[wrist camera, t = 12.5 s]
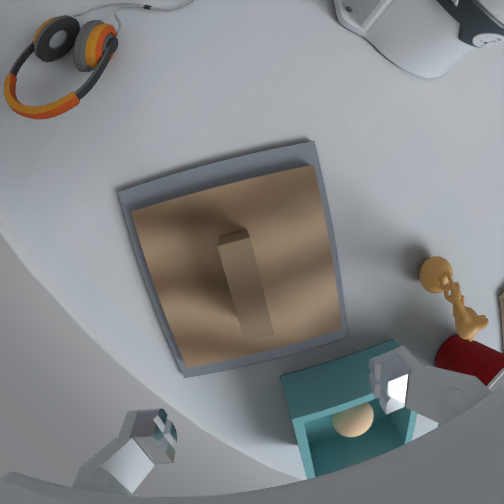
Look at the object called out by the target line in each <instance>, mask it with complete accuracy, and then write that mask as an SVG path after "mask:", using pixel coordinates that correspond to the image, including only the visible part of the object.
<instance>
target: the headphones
mask: <svg viewBox="0 0 504 504" xmlns="http://www.w3.org/2000/svg"><path fill="white" fill-rule="evenodd" d="M194 1H195V0H192V2H191V3H189V4H188V5H186V6H184V7H181V8H177V9H158V8H153V7H151V6H148V5H140V4H134V3H114V4H108V5H103V6H99V7H96V8H93V9H91V10H89V11H86V12H84V13H81V14H77V15H73V16H66V15H64V16H59V17H54V18H51V19H49V20H48V21H46V22H45V23H43V24H42V26H41V27H40V28H39V29H38V30H37V32H36V34H35V36H34V41H33V42H32V43H31V44H30V45H29V46H28V47H27V48H26V49H25V50H24V52H23V53H22V54H21V55H20V56H19V58H18V59H17V60H16V62H15V63H14V65H13V67H12V69H11V71H10V73H9V75H7V76H6V79H5V84H4V95H5V99H6V101H7V103H8V104H9V106H10V107H11V108H12V110H13V111H15V112H16V113H17V114H20V115H22V116H25V117H28V118H32V119H48V118H52V117H55V116H58V115H60V114H63V113H65V112H67V111H68V110H70V109H72V108H73V107H75V106H77V105H78V104H79V102H80V99H82V98H83V97H84V96H85V95H86V94H87V93H88V92H89V91H90V90H91V89H92V88H93V86H94V85H95V84H96V82H97V81H98V79H99V78H100V76H101V74H102V73H103V71H104V69H105V67H106V66H107V64H108V62H109V61H110V60H111V58H112V56H113V54H114V52H115V51H116V49H117V47H118V39H117V38H118V36H119V34H120V31H121V22H120V20H119V18H118V16H117V15H116V13H117V12H118V11H120V10H121V9H124V8H129V7H141V8H144V9H148V10H150V9H152V10H158V11H177V10H181V9H184V8H186V7H188V6H190V5H191V4H193V2H194ZM113 5H130V6H125V7H122V8H120V9H118V10H117V11H116V12H115V13H114V16H115V18H116V19H117V21H118V23H119V30H118V33H116V30H115V28H114V27H113V26H112V25H109V24H104V22H102V21H100V20H94V21H89V22H87V23H86V24H85V25H84V26H83V27H82V29H81V30H80V26H79V22H78V21H77V20H76V19H74V18H73V17H76V16H80V15H84V14H86V13H88V12H90V11H93V10H95V9H98V8H102V7H106V6H113ZM73 45H74V49H73V58H74V63H75V65H76V67H77V69H78V70H79V71H82V72H89V71H93V70H94V69H95V70H94V71H93V73H92V74H91V76H90V77H89V78H88V80H87V81H86V82H85V83H84V84H83V85H82V86H81V87H80V88H79V89H78V90H77V91H76V92H71V93H69V94H68V95H66V96H65V97H63V98H61V99H59V100H58V101H55V102H53V103H51V104H48V105H44V106H38V107H31V106H26V105H23V104H21V103H20V102H19V101H18V100H17V98H16V93H15V87H16V81H17V78H16V76H17V73H18V71H19V69H20V68H21V66H22V65H23V63H24V62H25V61H26V59H27V58H28V57H29V56H30V55H31V54H32V53H33V51H34V52H35V54H36V56H37V57H38V58H39V59H41V60H42V61H45V62H52V61H54V60H57V59H59V58H61V57H62V56H63V55H65V54H66V53H67V52H68V51H69V50H70V49H71V48H72V46H73Z"/></svg>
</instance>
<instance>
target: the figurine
mask: <svg viewBox="0 0 504 504" xmlns="http://www.w3.org/2000/svg"><path fill="white" fill-rule="evenodd" d="M452 277H453V272H452V267H451V265H450V264H449V262H448V261H447V260H446V259H444V258H442V257H439V256H434V257H431V258H429V259H427V260H426V261H425V262H424V263H423V264H422V266H421V268H420V273H419V278H420V282H421V284H422V286H423V287H424V288H425V289H426V290H427V291H429V292H431V293H440V292H443V291H444V295H445V298H446V299H448V301H449V302H451V303H452V304H453V316H454V317H455V325H456V330H457V333H458V334H459V336H460V337H461V338H463V339H468V340H469V341H470V342H471V341H472V340H473V338H474V335H475V333H477V332H478V331H479V330H481V329H483V328H485V327H486V326H487V325H488V319H487V318H486V316H485V315H479V316H477V314H476V312H475V311H474V310H473V309H472V308H469V307H465V306H464V296H463V295H461V292H460V285H459V283H457V282H455V283H454V282H453V280H452ZM450 289H451V295H450V296H449V295H448V291H449V290H450Z"/></svg>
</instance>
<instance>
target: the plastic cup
mask: <svg viewBox="0 0 504 504" xmlns="http://www.w3.org/2000/svg"><path fill="white" fill-rule="evenodd" d="M435 365H436V367H437V368H441V369H445V370H449V371H453V372H458V373H462V374H467V375H471V376H476V377H477V378H478V379H479V380H480V381H481V382H482V383H483V384H484V385H485V386H486V387H487V388H488V389H489V390H490V391H491V392H493V391H495V390H496V389H497V388H499V387H500V386H501V385H503V384H504V353H500V352H498V351H496V350H494V349H492V348H489V347H487V346H485V345H483V344H481V343H479V342H477V341H473V340H472V341H471V342H470V341H469V340H468V339H463V338H461V337H460V336H459V335H453V336H452V337H450V338H448V339H447V340H446V341H445V342H444V343H443V344H442V346H441V347H440V349H439V350H438V352H437V355H436V357H435Z"/></svg>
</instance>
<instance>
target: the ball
mask: <svg viewBox="0 0 504 504" xmlns="http://www.w3.org/2000/svg"><path fill="white" fill-rule="evenodd" d="M373 417H374V414H373V409H372V407H371V405H370V404H369V403H368V402H365V403H363V404H360V405H357V406H355V407H352V408H349V409H346V410H343V411H341V412H338V413H335V414H333V415H332V423H333V426H334V428H335V430H336V431H337V432H338V433H339V434H341V435H343V436H346V437H356V436H359V435H361V434H363V433H365V432H366V431H367V430H368V429H369V427H370V426H371V424H372V422H373Z"/></svg>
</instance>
